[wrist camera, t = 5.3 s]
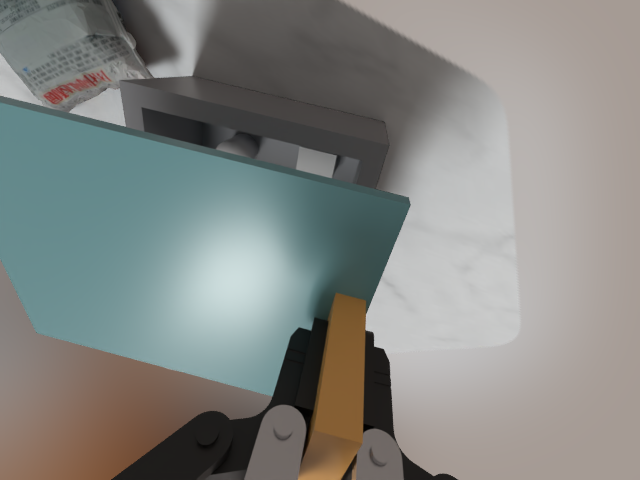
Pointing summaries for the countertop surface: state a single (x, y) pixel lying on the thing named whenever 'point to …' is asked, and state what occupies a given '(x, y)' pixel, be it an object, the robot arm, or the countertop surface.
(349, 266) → the lid
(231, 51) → the countertop surface
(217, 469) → the robot arm
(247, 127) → the tub
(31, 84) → the packaged food
